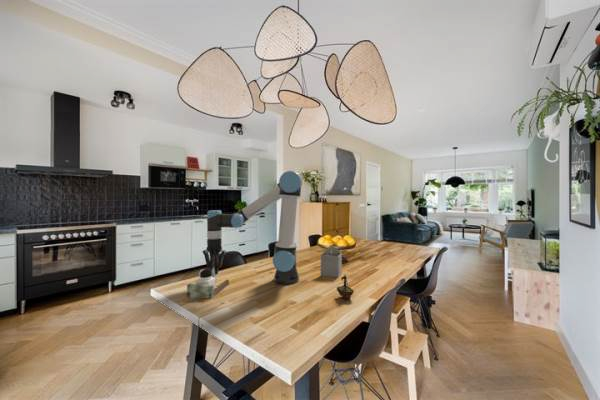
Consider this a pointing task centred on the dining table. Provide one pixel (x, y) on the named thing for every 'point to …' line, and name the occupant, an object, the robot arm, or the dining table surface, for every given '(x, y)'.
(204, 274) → the medicine bottle
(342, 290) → the figurine
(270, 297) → the dining table surface
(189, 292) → the guide channel
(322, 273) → the grey box
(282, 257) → the robot arm
